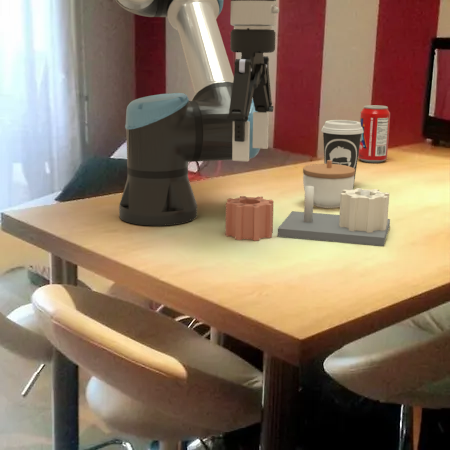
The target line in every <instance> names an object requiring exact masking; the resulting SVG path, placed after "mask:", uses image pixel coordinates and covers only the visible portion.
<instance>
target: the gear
mask: <svg viewBox="0 0 450 450" xmlns="http://www.w3.org/2000/svg"><path fill="white" fill-rule="evenodd" d="M226 201H227V202H225V228H224V229H225V230H224V231H225V232H224V233H225V236H226V237H232V238H235V240H236V241H242V240H253V241H254V242H256V241H257V242H259V241H260V239H265V238H266V239H270V238H272V237H273V232H274V231H273V230H274V229H273V228H274V200H273V199H266V198H264V197H263V196H256V197H255V196H253V197H251V196H245V195H241V196H239V197H236V198H232V197H230V198H227V199H226Z"/></svg>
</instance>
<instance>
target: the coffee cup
mask: <svg viewBox="0 0 450 450" xmlns="http://www.w3.org/2000/svg"><path fill="white" fill-rule="evenodd" d="M320 132H322V134H323V135H322V137H323V139H322V140H323V156H324V157H323V159H324V160H323V161H324V162H323V164H327V160H331V161H332V164H339V165H346V166H350V167H352V168H354V169H355V175H354V182H355V179H356V174H357V168H358V167H357V165H358V159H359V158H358V153H359V147H360V140H361V134H362V133H364V131H363V128H362V127H361V123H360V121H357V120H349V119H331V120H326V121H325V122H324V124H323V125H322V128H321V130H320ZM354 187H355V184H354V185H353V189H354Z"/></svg>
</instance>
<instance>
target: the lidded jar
mask: <svg viewBox="0 0 450 450" xmlns="http://www.w3.org/2000/svg"><path fill="white" fill-rule="evenodd" d="M302 174H303V177H302V179H303V181H302V182H303V189H304V191H305V186H314V199H313V207H317V208H321V209H338V208H340V197H341V193H342V191H343V190H354V188H353V185H354V186H355V181H354V175H355V176H356V174H355V169H354V168H352V167H350V166H346V165H339V164H332V161H331V160H327V164H325V163H313V164H308V165H305V166H304V167H303V168H302Z"/></svg>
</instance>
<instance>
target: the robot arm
mask: <svg viewBox="0 0 450 450" xmlns="http://www.w3.org/2000/svg"><path fill="white" fill-rule="evenodd" d="M114 1H115V2H116V3H117V5H119V6H120V7H121V8H123V10H125V11H128V12H129V13H132V14H133V15H138V16H142V17H148V18H167V20H168V22H169V24H170V25H171V27H172V28H173V29H174V30H176V31H177V32H178V35H179V39H180V44H181V46H182V47H181V48H182V50H183V55H184V57H185V61H186V66H187V71H188V73H189V76H190V82H191V85H192V89H193V92H194V95H193V96H192V98H191V100H190V99H189V97H188V94H186V93H182V92H174V93H160V94H154V95H148V96H143V97H139V98H136V99H134V100H131V102H129V104H128V105H126V106H127V107H126V113H125V125H124V128H125V130H126V132H125V133H126V134H125V135H126V164H127V165H126V167H127V169H126V171H127V176H126V182H125V185H124V189H123V193H122V195H121V200H120V202H119V206H118V212H119V219H120V220H122V221H123V222H125V223H129V224H132V225H138V226H139V225H141V226H149V227H150V226H152V227H153V226H154V227H155V226H159V227H160V226H173V225H181V224H184V223H188V222H191V221H193V220H195V219H196V218H197V217H198V203H197V201H196V198H195V195H194V191H193V189H192V186H191V183H190V179H189V163H190V162H191V163H193V162H214V161H215V162H216V161H234V162H249V161H250V159H253V158H256V156H257V155H258V154H259V152H260V150H261V149H262V150H263V149H264V150H265V149H267V150H268V148H269V122H270V121H269V117H270V115H269V114H270V113H273V112H274V105H273V101H272V93H271V90H272V89H271V82H270V81H271V80H270V69H269V61H270V58H269V56H268V55H267V56H264V54H266V53H267V54H269V53H274V52H275V51H276V31H275V30H274V29H272V27H274V26H275V25H276V19H277V18H276V14H279V12H280V7H277V6H276V4H277V2H276V1H277V0H230V22H229V23H230V24H229V25H231V26H233V29H231V31H230V51H231V52H232V53H241V57H240V58H236V59H235V60H234V72H233V70H232V66H231V64H230V61H229V56H228V55H227V51H226V48H225V45H224V42H223V38H222V35H221V34H222V33H221V32H220V28H219V26H218V25H219V24H218V21H217V19H218V17H219V16H220V14H221V12H222V11H223V7H224V0H114Z"/></svg>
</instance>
